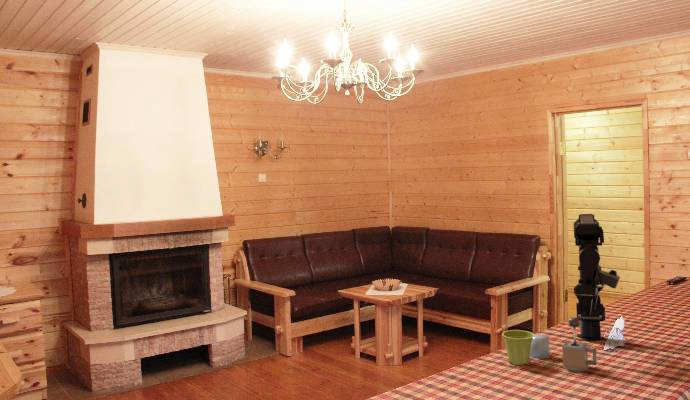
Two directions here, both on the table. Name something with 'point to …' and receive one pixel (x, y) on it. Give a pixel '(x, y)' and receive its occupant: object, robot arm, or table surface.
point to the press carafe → (577, 356)
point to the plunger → (574, 327)
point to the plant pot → (518, 346)
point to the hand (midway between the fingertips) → (590, 312)
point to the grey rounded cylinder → (540, 347)
